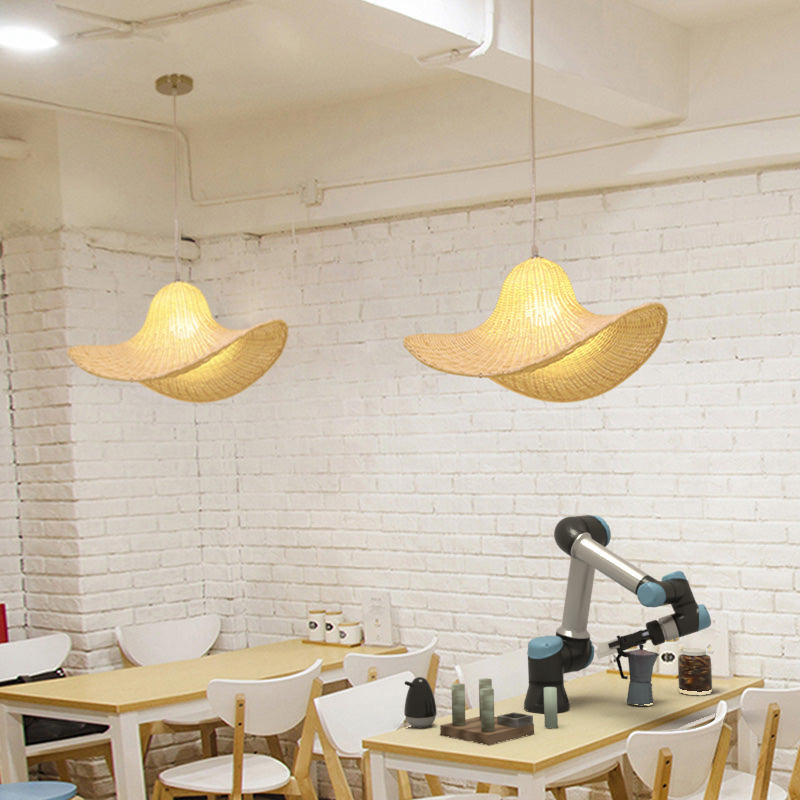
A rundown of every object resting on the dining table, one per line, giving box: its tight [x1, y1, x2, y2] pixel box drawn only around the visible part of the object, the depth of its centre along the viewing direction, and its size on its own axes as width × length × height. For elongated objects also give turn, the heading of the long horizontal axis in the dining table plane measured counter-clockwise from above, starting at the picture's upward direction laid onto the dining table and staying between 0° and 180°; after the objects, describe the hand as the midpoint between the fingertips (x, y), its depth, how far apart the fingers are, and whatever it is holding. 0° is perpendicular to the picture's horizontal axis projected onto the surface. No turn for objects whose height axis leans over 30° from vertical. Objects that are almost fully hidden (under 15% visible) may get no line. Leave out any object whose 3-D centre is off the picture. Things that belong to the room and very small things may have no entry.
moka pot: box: [615, 644, 660, 705], centre depth 396 cm, size 10×15×20 cm, turn 105°
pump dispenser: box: [403, 676, 438, 729], centre depth 369 cm, size 10×10×15 cm
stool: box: [439, 677, 535, 746], centre depth 355 cm, size 20×20×15 cm
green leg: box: [543, 687, 559, 729], centre depth 363 cm, size 4×4×12 cm
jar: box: [677, 647, 713, 692], centre depth 415 cm, size 12×12×15 cm
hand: (597, 652), depth 369 cm, fingers open, 13 cm apart
